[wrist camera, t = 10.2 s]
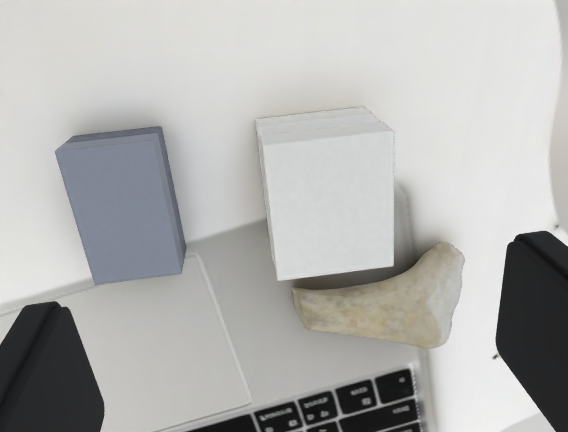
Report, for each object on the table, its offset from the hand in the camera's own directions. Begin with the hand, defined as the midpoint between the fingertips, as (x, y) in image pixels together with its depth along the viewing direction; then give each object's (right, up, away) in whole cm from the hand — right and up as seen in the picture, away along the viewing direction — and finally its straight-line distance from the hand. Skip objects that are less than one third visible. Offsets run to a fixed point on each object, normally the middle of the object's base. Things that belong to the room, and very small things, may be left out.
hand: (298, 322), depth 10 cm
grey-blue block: (-9, +3, +19) cm, 21 cm away
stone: (+5, -2, +23) cm, 24 cm away
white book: (+2, +3, +16) cm, 16 cm away
